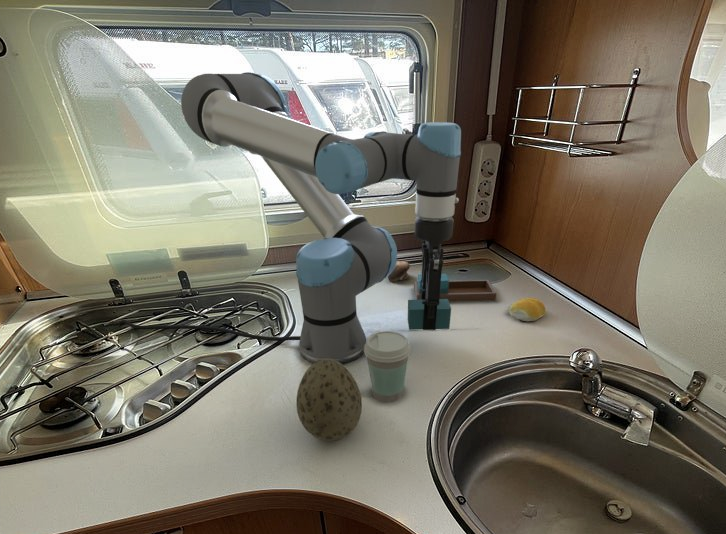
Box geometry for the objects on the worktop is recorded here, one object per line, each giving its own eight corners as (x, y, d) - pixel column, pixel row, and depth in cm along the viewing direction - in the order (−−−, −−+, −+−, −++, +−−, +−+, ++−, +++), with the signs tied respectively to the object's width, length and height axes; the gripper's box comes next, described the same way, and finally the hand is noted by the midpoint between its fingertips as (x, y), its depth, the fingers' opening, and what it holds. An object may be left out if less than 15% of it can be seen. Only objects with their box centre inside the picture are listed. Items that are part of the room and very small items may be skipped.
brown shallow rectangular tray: (416, 303, 116) (417, 295, 114) (413, 289, 123) (414, 281, 122) (495, 301, 116) (496, 293, 114) (487, 287, 124) (488, 279, 122)
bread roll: (549, 313, 110) (552, 299, 107) (532, 325, 105) (535, 310, 102) (520, 304, 114) (523, 290, 112) (503, 315, 109) (505, 301, 107)
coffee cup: (380, 376, 88) (379, 325, 81) (417, 388, 84) (419, 336, 77) (357, 398, 82) (354, 345, 75) (395, 412, 78) (396, 358, 71)
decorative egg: (369, 416, 77) (366, 346, 69) (355, 459, 69) (349, 385, 60) (313, 410, 79) (303, 341, 70) (292, 451, 71) (278, 378, 62)
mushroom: (420, 268, 128) (408, 252, 125) (408, 286, 124) (395, 270, 121) (403, 274, 134) (391, 259, 131) (391, 292, 131) (378, 276, 128)
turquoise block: (418, 298, 117) (419, 281, 114) (417, 291, 121) (417, 274, 118) (447, 297, 117) (449, 280, 114) (445, 290, 121) (446, 273, 118)
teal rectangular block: (409, 330, 94) (409, 309, 91) (407, 319, 98) (408, 299, 95) (449, 329, 94) (451, 308, 91) (446, 318, 98) (447, 298, 95)
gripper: (461, 230, 75) (450, 343, 88) (447, 204, 89) (438, 305, 103) (419, 230, 74) (414, 343, 88) (411, 204, 89) (408, 305, 103)
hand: (427, 322), depth 96 cm, fingers closed on teal rectangular block, 5 cm apart
